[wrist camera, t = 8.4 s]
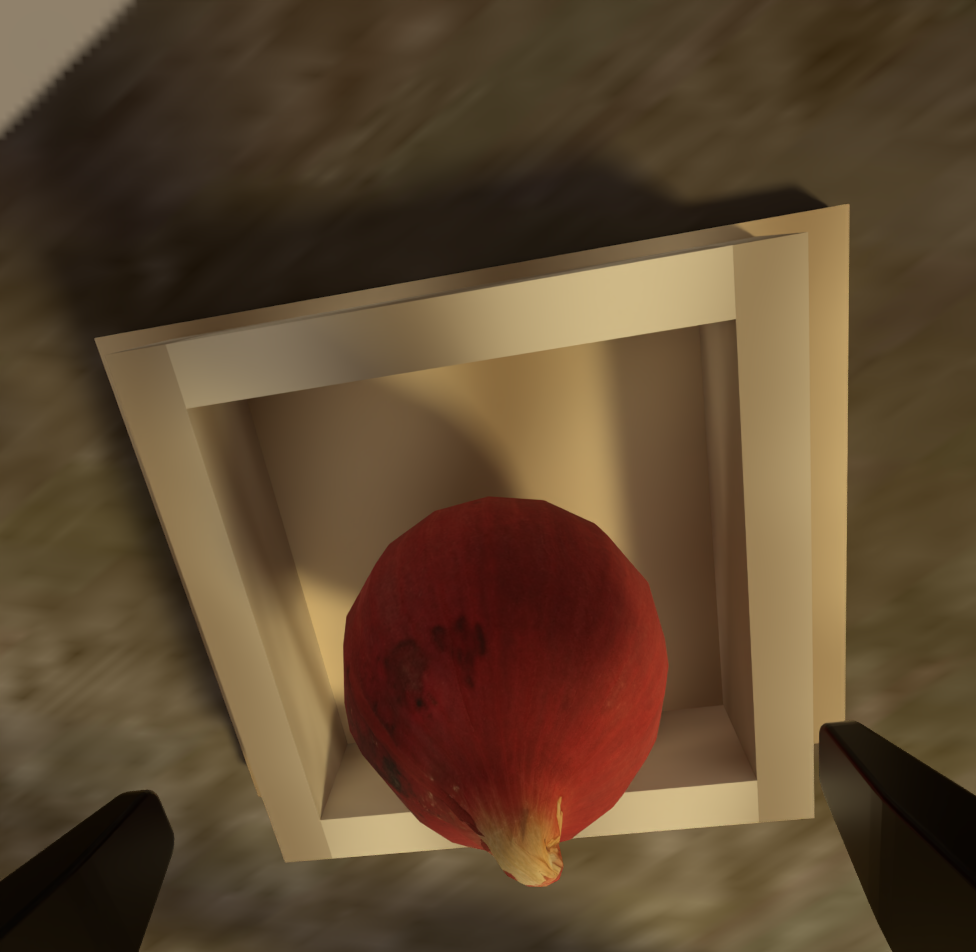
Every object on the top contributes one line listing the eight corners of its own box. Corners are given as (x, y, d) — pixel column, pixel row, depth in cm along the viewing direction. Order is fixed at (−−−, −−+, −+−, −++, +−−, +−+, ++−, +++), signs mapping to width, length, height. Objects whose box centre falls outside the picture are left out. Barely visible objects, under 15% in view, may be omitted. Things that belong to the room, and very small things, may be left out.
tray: (830, 207, 13) (925, 191, 10) (830, 719, 17) (898, 820, 14) (115, 334, 15) (8, 354, 12) (269, 775, 19) (219, 877, 16)
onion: (381, 655, 16) (286, 1016, 9) (376, 439, 14) (249, 669, 7) (608, 663, 16) (709, 1028, 9) (637, 450, 14) (798, 689, 7)
